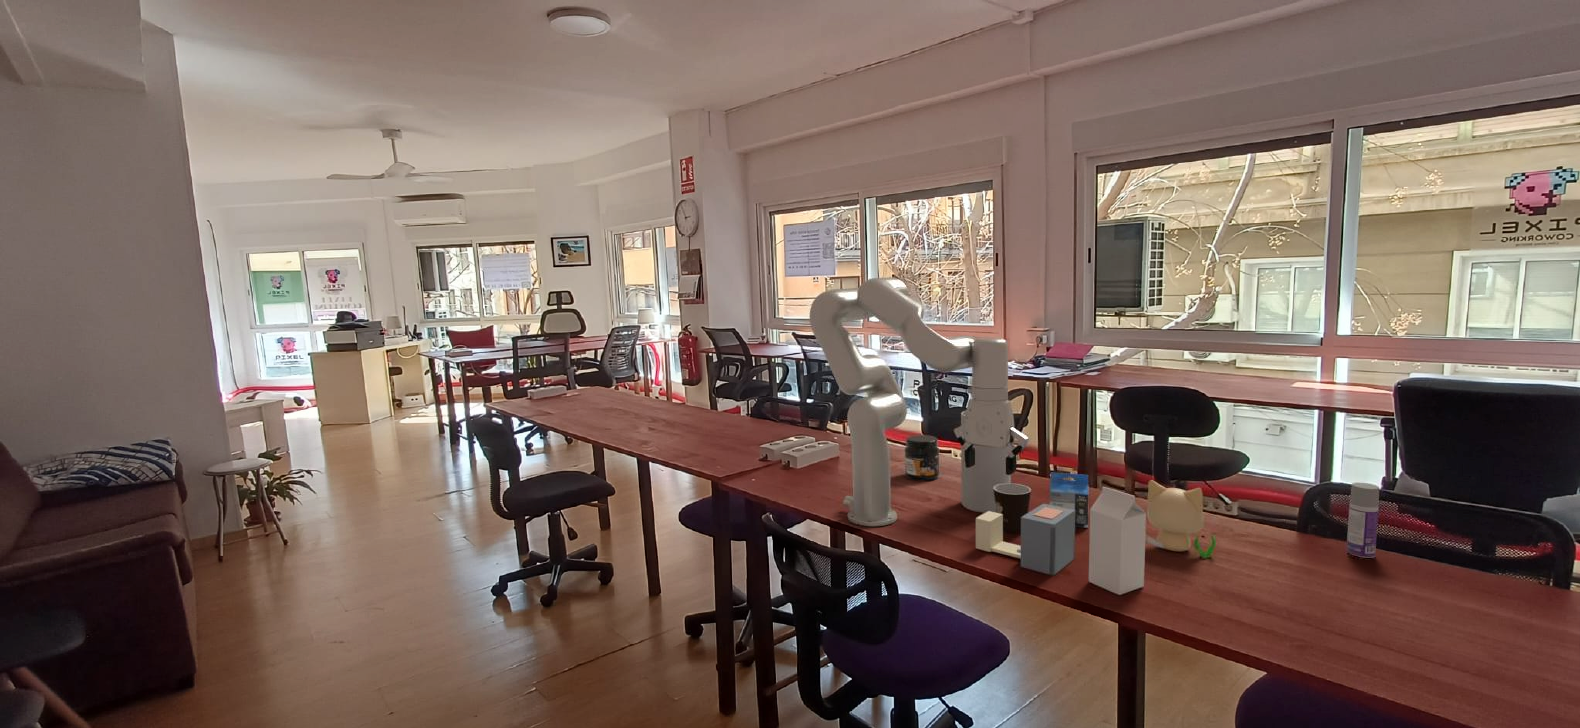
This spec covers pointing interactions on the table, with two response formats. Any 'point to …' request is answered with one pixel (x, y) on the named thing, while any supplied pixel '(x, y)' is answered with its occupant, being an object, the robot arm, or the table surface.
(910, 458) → the supplement container
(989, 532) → the cream l-shaped bracket
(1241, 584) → the table surface
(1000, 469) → the cylinder vase
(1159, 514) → the kitten
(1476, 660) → the table surface
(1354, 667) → the table surface
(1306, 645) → the table surface
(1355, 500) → the container
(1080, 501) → the label tape box
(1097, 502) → the milk carton
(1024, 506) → the coffee mug
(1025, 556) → the block
